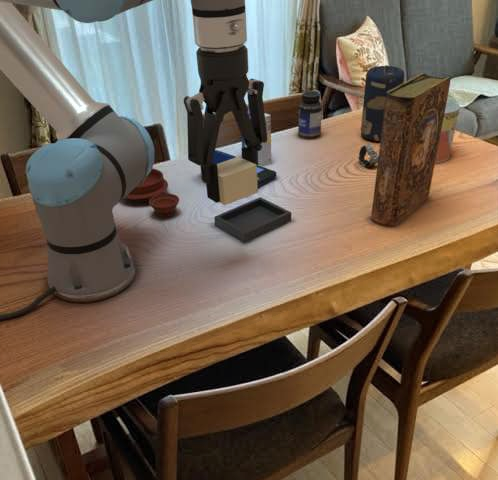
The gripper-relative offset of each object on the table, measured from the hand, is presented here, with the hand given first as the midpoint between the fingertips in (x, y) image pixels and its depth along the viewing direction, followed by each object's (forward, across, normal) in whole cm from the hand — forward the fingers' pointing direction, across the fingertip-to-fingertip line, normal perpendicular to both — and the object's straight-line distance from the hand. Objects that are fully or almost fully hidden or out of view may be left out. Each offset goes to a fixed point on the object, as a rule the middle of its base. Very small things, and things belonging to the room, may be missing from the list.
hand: (232, 192), depth 93 cm
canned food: (+14, +65, +7) cm, 66 cm away
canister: (+14, +65, +23) cm, 70 cm away
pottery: (+13, -1, +31) cm, 34 cm away
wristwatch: (+14, +49, +12) cm, 53 cm away
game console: (+13, +21, +28) cm, 37 cm away
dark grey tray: (+13, +10, +8) cm, 19 cm away
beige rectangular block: (0, 0, 0) cm, 0 cm away
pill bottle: (+13, +52, +36) cm, 65 cm away
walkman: (+13, +31, +33) cm, 48 cm away
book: (+14, +37, -7) cm, 40 cm away
